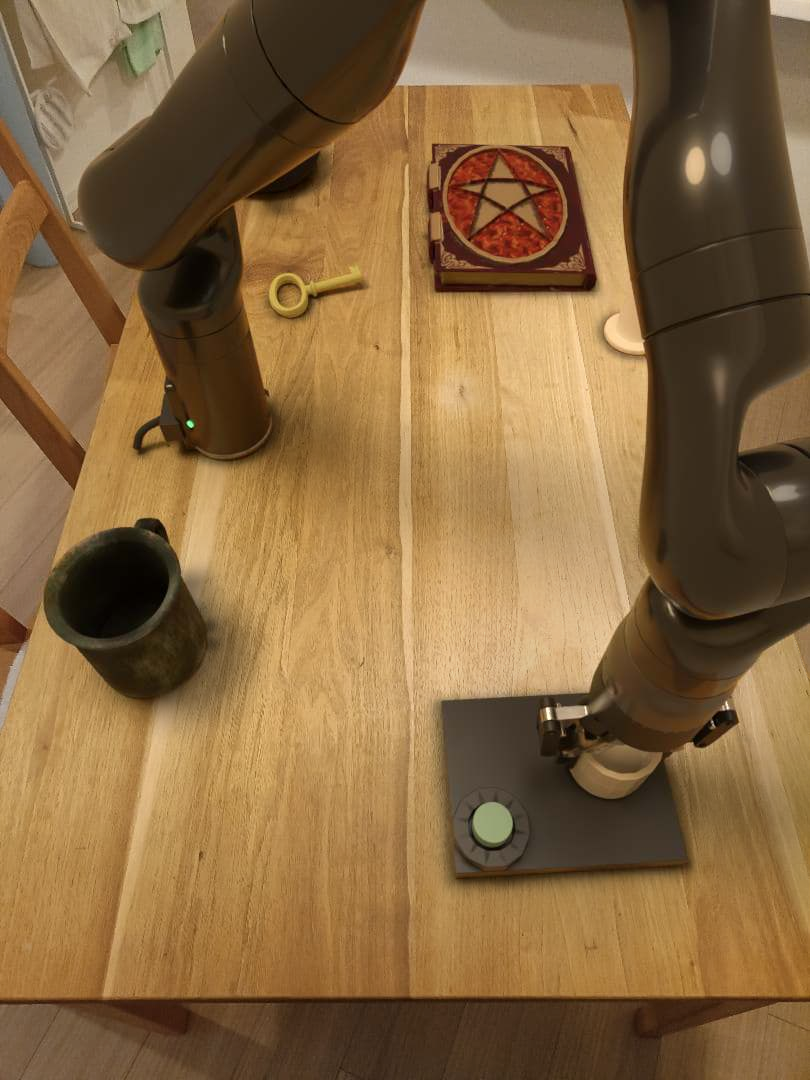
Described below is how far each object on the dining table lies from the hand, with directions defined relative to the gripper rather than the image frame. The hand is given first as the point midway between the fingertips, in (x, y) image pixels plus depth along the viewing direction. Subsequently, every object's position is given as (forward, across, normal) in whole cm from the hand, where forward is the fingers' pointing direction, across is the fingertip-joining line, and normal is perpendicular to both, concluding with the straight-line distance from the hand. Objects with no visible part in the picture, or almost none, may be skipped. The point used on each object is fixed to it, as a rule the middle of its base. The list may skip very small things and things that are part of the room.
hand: (608, 754), depth 62 cm
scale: (+4, +4, +1) cm, 6 cm away
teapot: (+4, +32, -90) cm, 96 cm away
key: (+4, +25, -62) cm, 67 cm away
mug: (+4, +39, -15) cm, 42 cm away
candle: (+4, -14, -52) cm, 54 cm away
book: (+4, -1, -75) cm, 75 cm away
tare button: (0, +10, +5) cm, 11 cm away
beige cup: (+1, 0, 0) cm, 1 cm away
